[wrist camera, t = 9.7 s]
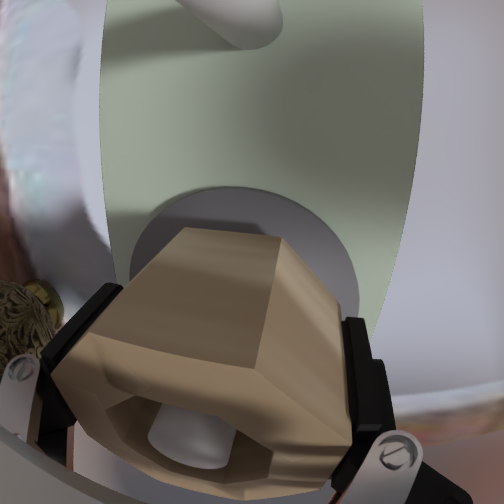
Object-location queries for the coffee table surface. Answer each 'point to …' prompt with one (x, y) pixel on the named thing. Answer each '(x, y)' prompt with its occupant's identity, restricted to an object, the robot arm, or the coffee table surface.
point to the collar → (219, 364)
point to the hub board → (261, 145)
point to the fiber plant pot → (27, 318)
